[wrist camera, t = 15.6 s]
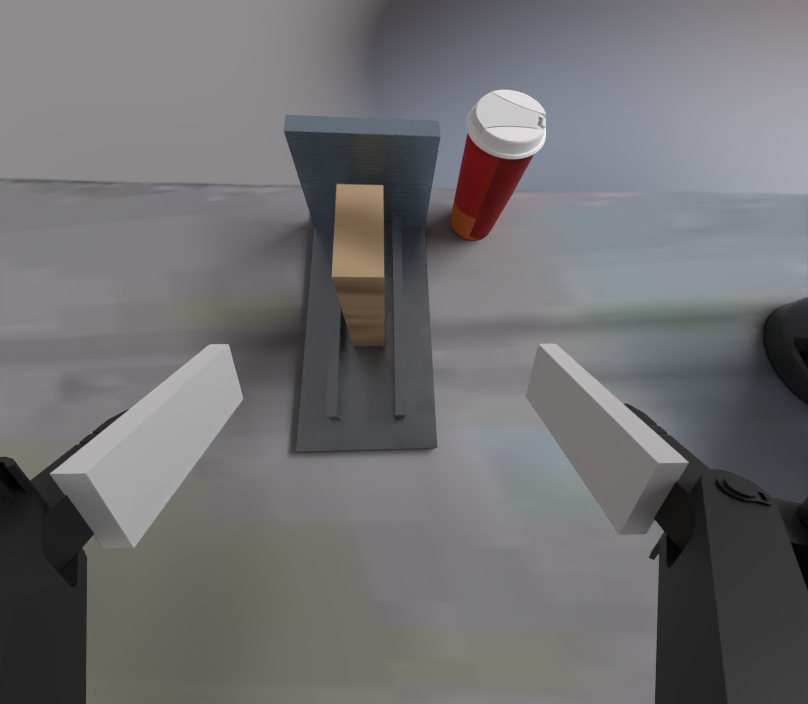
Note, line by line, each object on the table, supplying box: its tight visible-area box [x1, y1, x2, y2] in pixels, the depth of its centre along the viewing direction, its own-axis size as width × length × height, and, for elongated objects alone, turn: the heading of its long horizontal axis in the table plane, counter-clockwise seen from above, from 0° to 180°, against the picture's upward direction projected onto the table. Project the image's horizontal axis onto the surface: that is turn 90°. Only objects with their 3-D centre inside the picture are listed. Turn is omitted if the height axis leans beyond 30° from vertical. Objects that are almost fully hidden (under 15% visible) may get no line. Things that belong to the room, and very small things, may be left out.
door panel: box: [332, 184, 385, 346], centre depth 28 cm, size 8×4×14 cm, turn 2°
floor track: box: [284, 115, 440, 452], centre depth 30 cm, size 30×14×13 cm, turn 1°
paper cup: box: [451, 90, 546, 240], centre depth 34 cm, size 8×8×14 cm
